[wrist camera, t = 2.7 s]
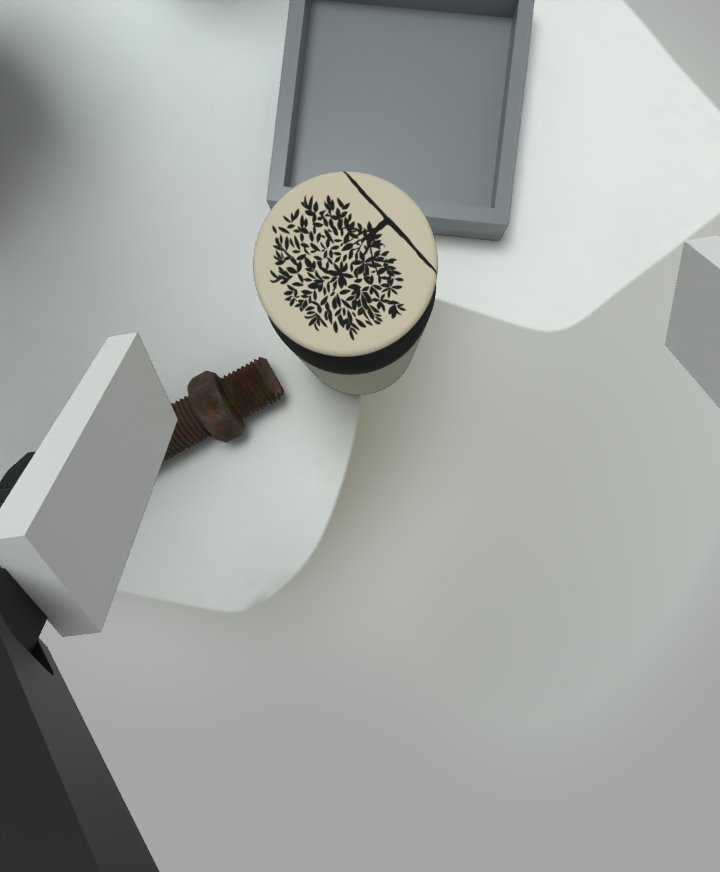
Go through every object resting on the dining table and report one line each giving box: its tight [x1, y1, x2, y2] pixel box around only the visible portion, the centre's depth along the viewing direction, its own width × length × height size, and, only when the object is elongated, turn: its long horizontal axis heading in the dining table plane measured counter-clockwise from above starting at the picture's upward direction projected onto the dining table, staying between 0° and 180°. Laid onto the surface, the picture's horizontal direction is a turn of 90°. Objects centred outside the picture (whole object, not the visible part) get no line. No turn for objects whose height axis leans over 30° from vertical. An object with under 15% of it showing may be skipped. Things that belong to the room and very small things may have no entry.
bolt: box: [162, 357, 284, 462], centre depth 40 cm, size 6×5×15 cm
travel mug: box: [253, 171, 438, 395], centre depth 32 cm, size 8×8×18 cm
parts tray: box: [267, 0, 534, 241], centre depth 40 cm, size 16×16×3 cm
